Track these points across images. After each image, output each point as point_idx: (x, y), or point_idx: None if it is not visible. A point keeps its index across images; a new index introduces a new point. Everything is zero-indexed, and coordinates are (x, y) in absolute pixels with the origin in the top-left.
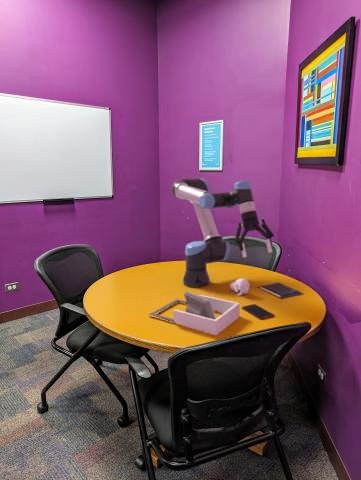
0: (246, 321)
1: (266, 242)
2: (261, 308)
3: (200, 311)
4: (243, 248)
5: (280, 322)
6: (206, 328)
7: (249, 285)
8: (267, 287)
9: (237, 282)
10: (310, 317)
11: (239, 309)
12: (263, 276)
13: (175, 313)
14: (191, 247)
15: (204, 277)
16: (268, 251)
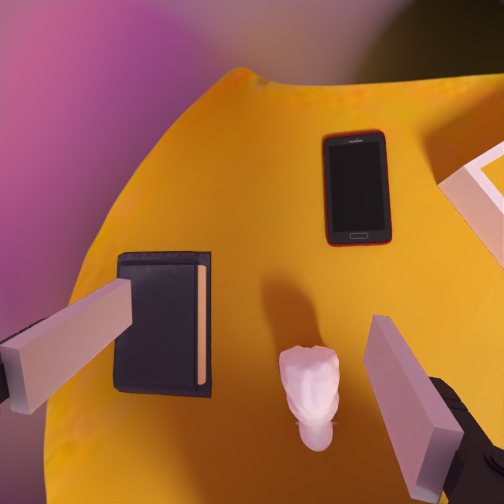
0: (436, 140)
1: (60, 377)
2: (330, 201)
3: None
4: (424, 374)
5: (335, 98)
6: None
7: (282, 351)
8: (187, 356)
9: (336, 384)
10: (232, 98)
11: (450, 175)
12: (106, 493)
13: None
14: None
15: None
16: (126, 322)
